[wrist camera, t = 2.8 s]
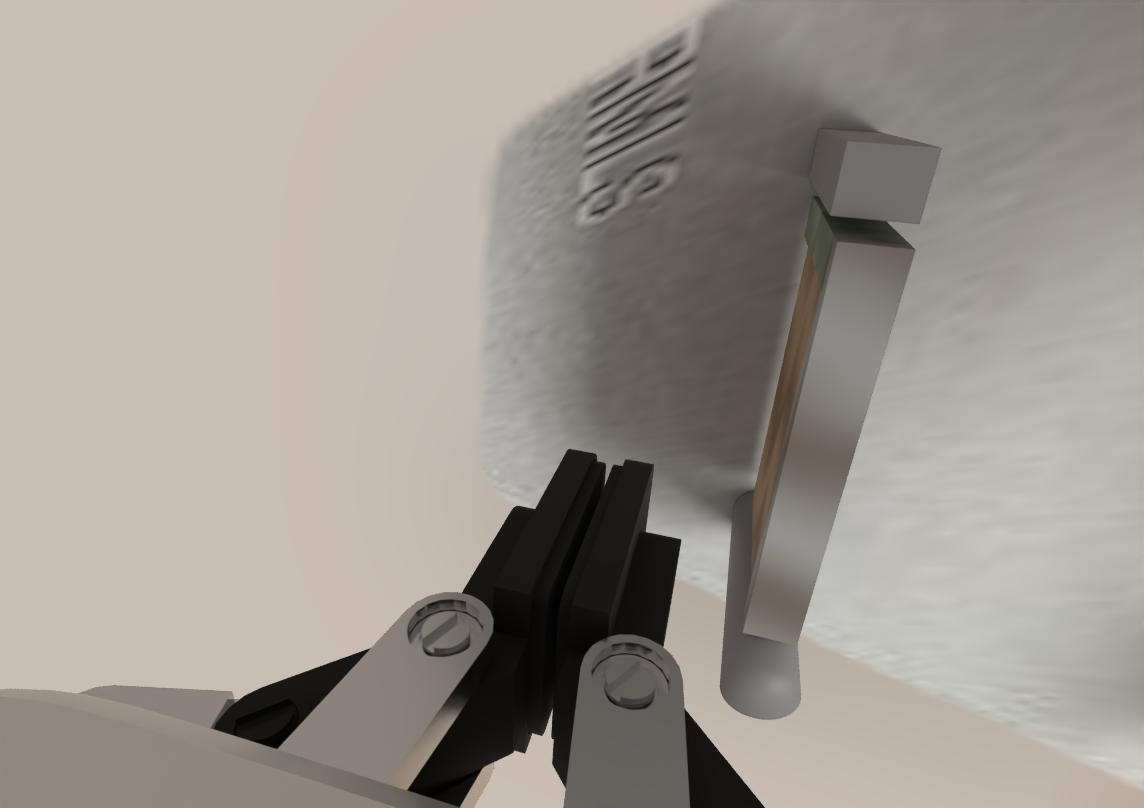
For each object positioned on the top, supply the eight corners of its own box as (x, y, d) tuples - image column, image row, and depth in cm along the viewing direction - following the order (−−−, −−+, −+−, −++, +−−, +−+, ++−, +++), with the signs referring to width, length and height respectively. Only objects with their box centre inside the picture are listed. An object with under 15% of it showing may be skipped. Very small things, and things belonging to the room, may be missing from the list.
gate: (787, 502, 32) (796, 645, 24) (748, 495, 32) (742, 632, 24) (864, 200, 25) (915, 249, 17) (813, 196, 26) (837, 241, 17)
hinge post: (737, 485, 34) (726, 654, 24) (794, 496, 33) (808, 675, 23) (728, 529, 35) (714, 707, 25) (783, 540, 35) (791, 728, 24)
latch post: (819, 128, 26) (847, 141, 17) (880, 132, 25) (941, 147, 17) (808, 179, 27) (830, 215, 18) (867, 183, 26) (919, 224, 18)
